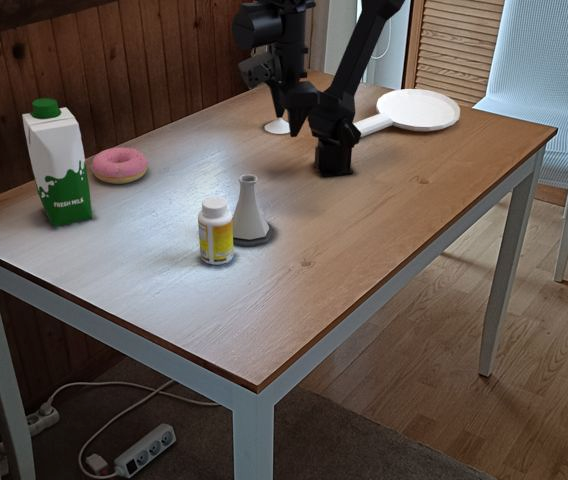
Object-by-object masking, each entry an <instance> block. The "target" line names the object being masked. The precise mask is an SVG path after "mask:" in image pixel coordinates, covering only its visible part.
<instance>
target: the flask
mask: <svg viewBox="0 0 568 480" xmlns="http://www.w3.org/2000/svg"><path fill="white" fill-rule="evenodd" d="M237 181H238V182H239V185H240V186H239V188H240V189H239V195H238V200H237V204H236V206H235V209H234V213H233V214H232V225H233V237H235V238H242V239H249V240H250V239H255V238H260V237H265V236H266V234H267V232H268V230H269V226H268V224H267V223H268V222H267V219H266V216H265V214H264V211H263V209H262V206H261V203H260V201H259V197H258V192H257V182H258V176H257V175H256V174H251V173H245V174H240V175H239V177H238V180H237Z"/></svg>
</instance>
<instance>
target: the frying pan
mask: <svg viewBox="0 0 568 480" xmlns="http://www.w3.org/2000/svg"><path fill="white" fill-rule="evenodd" d="M375 110H376V112H377V113H376V114H375V115H372V116H370V117H367V118H363V119H361V120H359V121H356V122H354V123H353V124H354V125H355V126H356V127H357V129H358V130H359V131H360V132H361V137H360V139H361V138H363V137H365V136H368V135H370V134H374V133H376V132H379V131H382V130H383V129H386V128H389V127H392V126H393V127H396V128H399V129H402V130H407V131H412V132H425V133H426V132H427V133H428V132H435V131H440V130H443V129H445V128H448V127H450V126H453V125H454V124H456V122H457V121H459V119H460V115H461V114H460V113H461V107H460V106H459V105H458V103H457V101H456V100H453V99H452V98H451V97H449V96H448V95H444V94H441V93H439V92H437V91H432V90H428V89H422V88H421V89H420V88H403V89H397V90H396V89H395V90H392V91H389V92H387V93H384V94H382V96H380V97H379V98H378V99H377V102H376V106H375Z"/></svg>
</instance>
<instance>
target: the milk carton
mask: <svg viewBox="0 0 568 480" xmlns="http://www.w3.org/2000/svg"><path fill="white" fill-rule="evenodd" d="M31 103H32V104H31V105H32V111H31V112H28V113H22V114H21V115H22V122H23V130H24V134H25V138H26V145H27V150H28V154H29V159H30V163H31V164H30V165H31V168H32V173H33V177H34V183H35V186H36V187H35V188H36V191H37V194H38V197H39V200H40V202H41V204H42V207H43V210H44V212H45V214H46V215H47V217H48V219H49V221H50V222H51V225H52V226H53V228H56V227H60V226H61V227H62V226H65V225H70V224H76V223H79V222H84V221H88V220H92V219H93V212H92V202H91V200H92V199H91V190H90V189H91V188H90V183H89V176H88V170H87V164H86V163H87V162H86V158H85V157H86V156H85V151H84V146H83V141H82V134H81V130H80V125H79V122H78V120H77V119H76V117H75V116H74V115H73V114H72V112H71V111H70V110H69V109H68V108H67V106H66V107H60V108H59V106H58V101H57V100H56V99H55V98H51V97H42V98H37V99H35V100H34V101H32V102H31Z"/></svg>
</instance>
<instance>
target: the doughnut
mask: <svg viewBox="0 0 568 480" xmlns="http://www.w3.org/2000/svg"><path fill="white" fill-rule="evenodd" d="M148 164H149V163H148V160H147V157H146V156H145V154H143V153H142V151H139V150H138V149H135V148H131V147H121V146H120V147H119V146H118V147H112V148H108V149H106V148H105V149H104V150H101V151H100V152H99V153H97V154H96V155H95V156H94V157H93V159H92V162H90V168H91V170H92V172H93V175H94V176H95V177H96V178H97V179H99V180H100V181H102V182H105V183H107V184H115V185H116V184H117V185H119V184H122V185H123V184H128V183H129V184H130V183H133V182H135V181H138V180H139V179H141V178H142V177H143V176H144V175H145V174H146V172H147V170H148Z"/></svg>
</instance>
